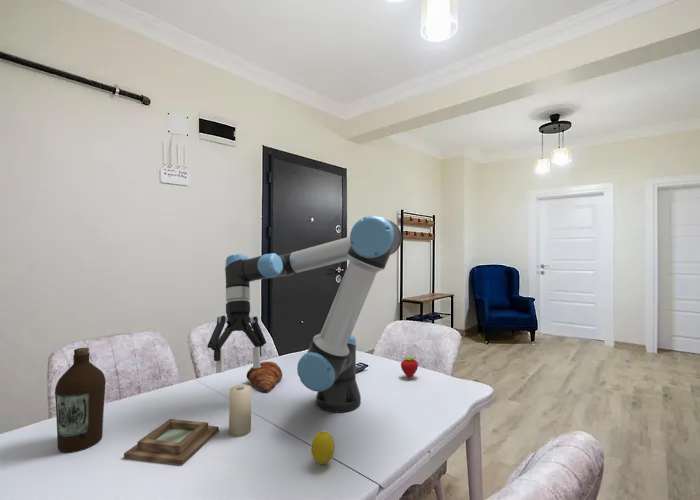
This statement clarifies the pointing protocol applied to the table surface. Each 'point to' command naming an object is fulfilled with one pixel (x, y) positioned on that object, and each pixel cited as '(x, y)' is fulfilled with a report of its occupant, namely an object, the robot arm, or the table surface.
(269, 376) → the pastry
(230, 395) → the kraft paper roll
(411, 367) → the strawberry
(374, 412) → the table surface
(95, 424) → the brown bottle
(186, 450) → the walnut roll stand
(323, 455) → the lemon
